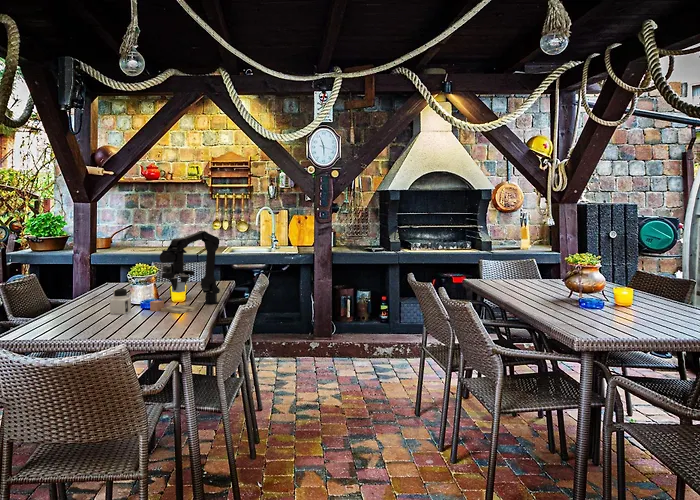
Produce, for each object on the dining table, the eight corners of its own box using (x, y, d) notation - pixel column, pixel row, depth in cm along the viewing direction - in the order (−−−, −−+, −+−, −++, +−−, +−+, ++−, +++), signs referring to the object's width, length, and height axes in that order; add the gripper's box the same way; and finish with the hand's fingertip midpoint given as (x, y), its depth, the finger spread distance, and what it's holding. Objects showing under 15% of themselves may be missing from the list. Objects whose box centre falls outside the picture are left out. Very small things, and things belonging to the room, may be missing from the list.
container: (131, 311, 296) (130, 288, 295) (123, 314, 288) (123, 290, 287) (117, 311, 297) (116, 287, 296) (110, 314, 289) (109, 289, 288)
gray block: (178, 290, 305) (178, 281, 304) (185, 291, 302) (185, 282, 302) (171, 291, 300) (171, 282, 300) (178, 292, 298) (178, 283, 297)
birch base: (180, 307, 310) (180, 304, 310) (198, 309, 304) (198, 306, 303) (161, 311, 298) (160, 308, 298) (179, 313, 291) (179, 310, 291)
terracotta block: (157, 309, 304) (157, 300, 304) (163, 310, 302) (163, 301, 301) (150, 310, 300) (150, 301, 299) (156, 311, 297) (156, 302, 297)
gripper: (180, 259, 312) (180, 286, 313) (154, 262, 296) (154, 290, 297) (194, 260, 307) (195, 288, 308) (168, 263, 290) (169, 292, 292)
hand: (178, 289), depth 301 cm, fingers closed on gray block, 5 cm apart
